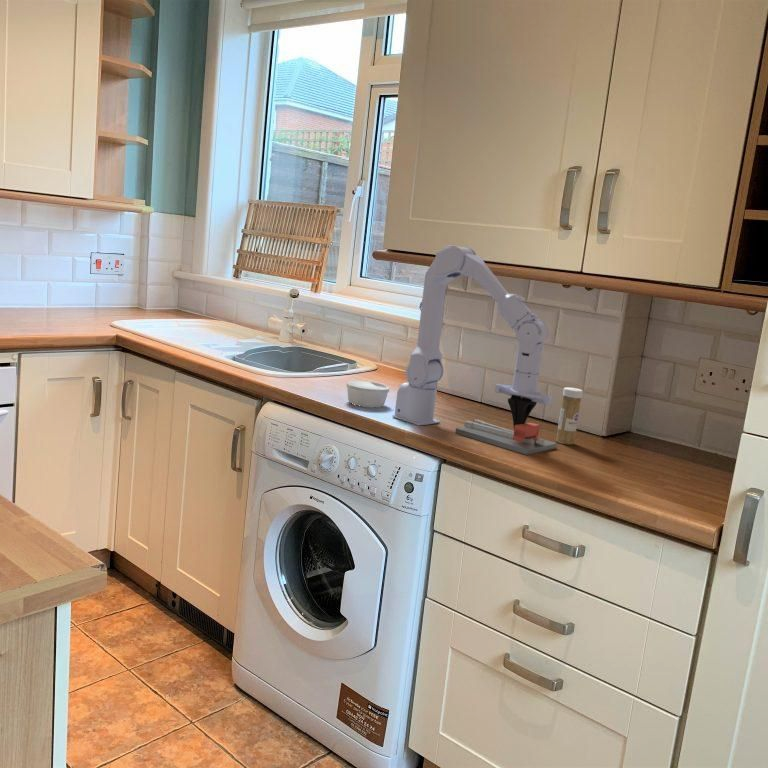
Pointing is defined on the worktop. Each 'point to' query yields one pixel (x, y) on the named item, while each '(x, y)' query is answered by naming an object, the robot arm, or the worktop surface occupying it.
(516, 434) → the red block
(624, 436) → the worktop surface
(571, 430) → the sprinkles bottle
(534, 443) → the tongs
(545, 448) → the slate board
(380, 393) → the ramekin
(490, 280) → the robot arm
